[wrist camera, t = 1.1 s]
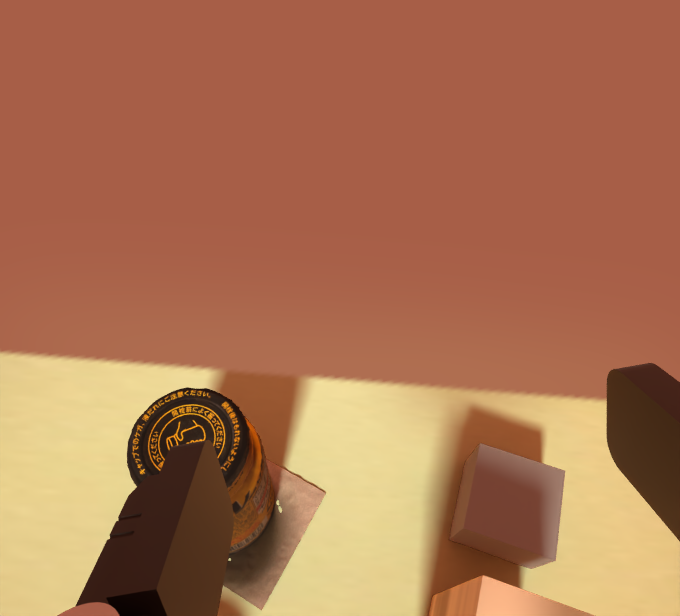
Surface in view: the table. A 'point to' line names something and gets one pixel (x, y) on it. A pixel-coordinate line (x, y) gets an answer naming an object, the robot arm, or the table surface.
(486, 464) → the rubber block
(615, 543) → the table surface
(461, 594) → the maple block
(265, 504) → the condiment
